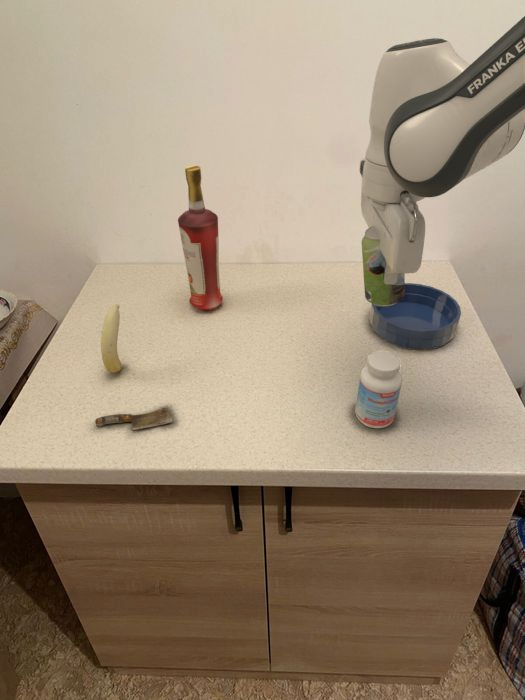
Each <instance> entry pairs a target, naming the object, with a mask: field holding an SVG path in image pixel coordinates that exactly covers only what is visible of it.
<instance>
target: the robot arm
mask: <svg viewBox="0 0 525 700" xmlns="http://www.w3.org/2000/svg"><path fill="white" fill-rule="evenodd" d="M369 107H370V109H369V116H368V117H369V118H368V123H369V130H370V138H369V142H368V145H367V147H366V151H365V155H364V156H365V157H363V158H362V157H361V159H360V161H359V174H360V176H361V195H360V208H361V210H360V211H361V215H362V218H363V219H364V222H365V224H366V225H367V227H368V228H370V227H372V226H373V228H374V230H375V231H376V233H377V235H378V236H379V238H380V250H381V252H382V254H383V256H384V258H385V260H386V264H387V265H386V268H385V270H384V273H383V281H384V283H385V284H395V283H396V282H397V276H398V274H406V275H407V274H415V273H417V272H418V270H420V269H421V266H422V261H423V254H424V246H425V239H426V220H425V217H424V215H423V213H422V211H420V209H419V205H418V203H417V202H419V201H422V200H424V199H425V198H436V197H439V196H442V195H444V194H446V193H448V192H449V191H450V190H452V189H454V187H456V186H457V185H459V184H460V183H461V182H462V181H464V180H466V179H469V178H470V177H472V176H474V175H476V174H477V173H479V172H481V171H482V170H484V169H486V168H487V167H489V166H491V165H492V164H494V163H496V162H498V161H499V160H501V159H503V158H504V157H506V156H507V155H509V154H510V153H511V152H512V151H513V150H514V149H515V148H516V147H517V145H518V144H519V142H520V141H521V139H522V137H523V135H524V132H525V15H524V16H522V17H521V19H519V21H517V22H516V23H515V24H514V25H513V26H512V27H511V28H509V29H508V30H507V31H506V32H505V33H504V34H503V35H502V36H500V37H499V38H498V39H497V40H496V41H495V42H494V43H493V44H491V45H490V47H489V48H487V49H486V50H485V51H484V52H483V53H482V54H480V55H479V56H478V57H477V58H476V59H475V60H474V61H473V62H472V63H471V64H470V63H469V62H467V61H466V60H465V59H464V58H463V57H461V56H460V55H459V54H458V53H457V51H456V50H455V48H454V47H453V45H452V44H451V42H450V41H448V40H446V39H444V38H435V37H434V38H426V39H420V40H414V41H409V42H404V43H399V44H395V45H393V46H391V47H389V48H388V49H387V50H386V51H385V52H384V53H383V54H382V56H381V57H380V60H379V63H378V66H377V69H376V73H375V76H374V82H373V87H372V94H371V101H370V106H369Z"/></svg>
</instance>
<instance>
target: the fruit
mask: <svg viewBox="0 0 525 700" xmlns="http://www.w3.org/2000/svg"><path fill="white" fill-rule="evenodd" d="M120 317H121V315H120V305H119V304H118V303H115V304H114V305H111V306H110V307H109V308H108V310H107V311H106V314H105V317H104V319H103V324H102V329H101V335H100V353H101V354H100V355H101V360H102V363H103V366H104V369H106V371H108V372H109V373H114V374H115V373H118V372H120V371H121V370H122V361H121V359H120V357H119V353H118V338H119V329H120V321H121V320H120V319H121V318H120Z"/></svg>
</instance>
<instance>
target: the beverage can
mask: <svg viewBox="0 0 525 700" xmlns="http://www.w3.org/2000/svg"><path fill="white" fill-rule="evenodd" d="M361 255H362V256H361V257H362V258H361V259H362V271H363V273H362V274H363V287H364V298H365V300H366V301H367V302H368V303H370V304H371V303H372V304H374V305H377V306H391V305H394V304H396V303H397V302H399V301H400V300H402V299H403V297H404V295H405V283H406V282H405V281H406V280H405V278H406V277H405V274H398V276H397V282H396V283H395V284H385V283H384V281H383V273H384V270H385V268H386V265H387V264H386V260H385V258H384V256H383V254H382V252H381V250H380V238H379V236H378V235H377V233H376V231H375V230H374V228H373V226H372V227H370V228H369V227H368V228H367V229H366V230H365V232H364V235H363V236H362V239H361Z"/></svg>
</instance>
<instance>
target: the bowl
mask: <svg viewBox="0 0 525 700" xmlns="http://www.w3.org/2000/svg"><path fill="white" fill-rule="evenodd" d="M461 316H462V310H461V306H460V305H459V303H458V301H457V300H456V299H455V298H453V296H451V295H450V294H449V293H447V292H445V291H443V290H442V289H440V288H436V287H434V286H431V285H426V284H422V283H414V282H413V283H412V282H405V295H404V297H403V299H402V300H400V301H399V302H397V303H396V304H394V305H391V306H377V305H374V304H372V303H370V310H369V319H368V320H369V324H370V326H371V328H372V329H373V331H374V332H375V333H376V334H377V335H378V337H380V338H381V339H382V340H384V341H385V342H387V343H389V344H391V345H393V346H396V347H400V348H403V349H408V350H419V351H420V350H431V349H436V348H439V347H442V346H444V345H445V344H447V343H449V342H451V340H452V339H454V337H455V336H456V333H457V330H458V326H459V324H460V323H459V322H460V320H461Z"/></svg>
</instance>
